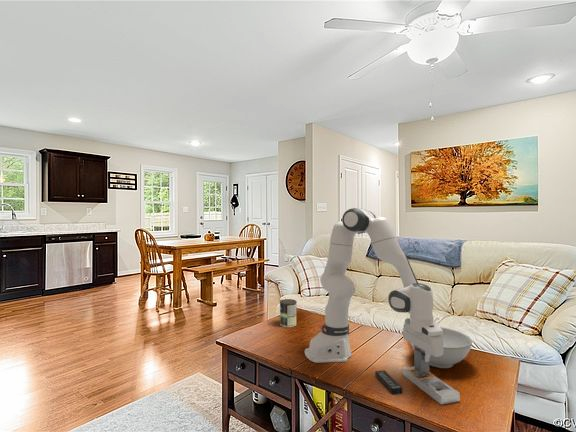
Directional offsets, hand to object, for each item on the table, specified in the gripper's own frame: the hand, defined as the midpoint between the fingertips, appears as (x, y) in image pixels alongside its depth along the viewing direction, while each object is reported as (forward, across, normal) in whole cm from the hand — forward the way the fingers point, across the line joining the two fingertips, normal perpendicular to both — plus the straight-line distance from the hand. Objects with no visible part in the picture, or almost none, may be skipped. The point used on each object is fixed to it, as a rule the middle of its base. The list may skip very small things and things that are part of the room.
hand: (421, 358), depth 132 cm
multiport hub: (+10, -2, -15) cm, 18 cm away
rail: (+9, +5, -1) cm, 10 cm away
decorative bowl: (+10, -12, +18) cm, 24 cm away
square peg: (+5, 0, 0) cm, 5 cm away
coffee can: (+9, -79, -33) cm, 86 cm away
